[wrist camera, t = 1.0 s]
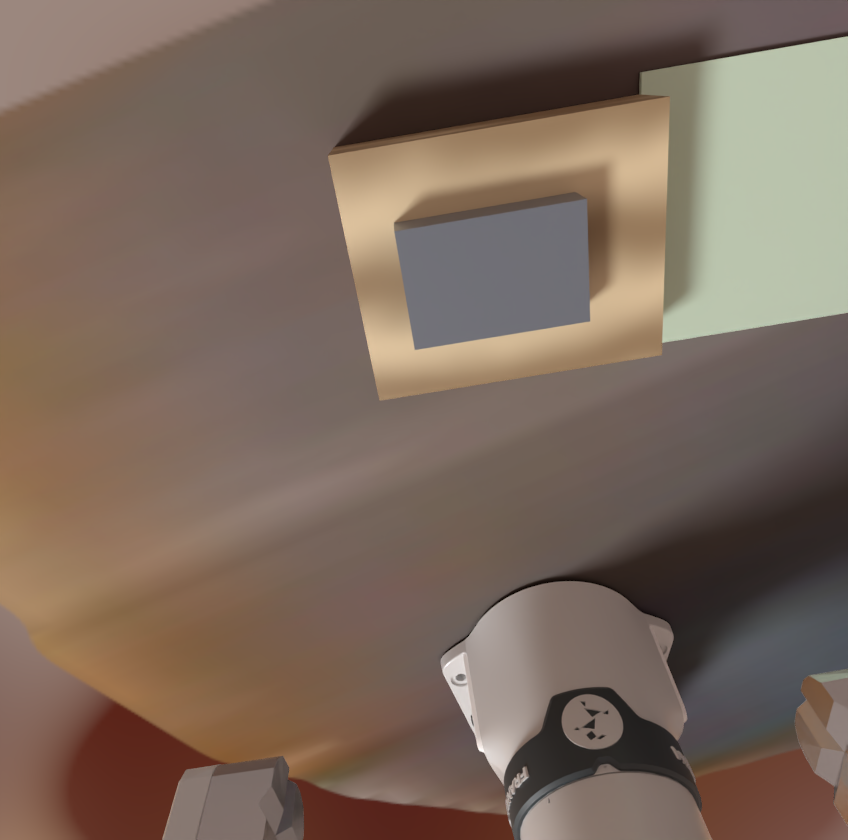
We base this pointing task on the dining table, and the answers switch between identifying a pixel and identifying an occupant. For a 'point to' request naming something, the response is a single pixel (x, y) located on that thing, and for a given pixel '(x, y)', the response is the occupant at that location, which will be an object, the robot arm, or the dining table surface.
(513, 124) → the square wooden plank
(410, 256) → the grey flat block
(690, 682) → the dining table surface
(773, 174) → the mat
